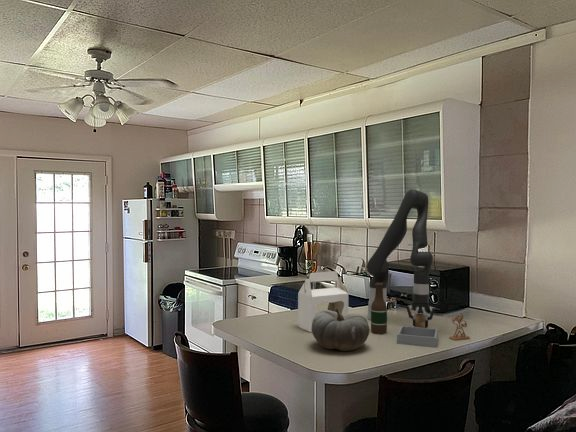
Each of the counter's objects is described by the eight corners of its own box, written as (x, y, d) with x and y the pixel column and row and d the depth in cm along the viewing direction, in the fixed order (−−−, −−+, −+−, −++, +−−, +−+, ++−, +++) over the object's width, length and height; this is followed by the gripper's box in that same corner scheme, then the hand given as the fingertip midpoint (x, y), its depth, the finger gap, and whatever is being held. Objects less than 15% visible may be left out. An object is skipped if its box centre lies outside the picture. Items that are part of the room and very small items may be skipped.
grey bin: (397, 343, 220) (397, 334, 220) (401, 334, 236) (401, 325, 236) (435, 347, 215) (436, 338, 215) (437, 337, 231) (437, 329, 231)
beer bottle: (387, 331, 242) (388, 282, 241) (385, 335, 234) (386, 284, 234) (372, 329, 244) (372, 281, 244) (369, 333, 237) (369, 283, 236)
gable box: (334, 322, 260) (334, 269, 259) (348, 327, 248) (349, 272, 247) (297, 326, 249) (297, 271, 248) (310, 332, 237) (311, 275, 237)
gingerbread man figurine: (464, 336, 232) (464, 311, 232) (469, 338, 229) (470, 313, 229) (448, 338, 229) (449, 312, 229) (454, 340, 226) (455, 314, 225)
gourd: (306, 332, 227) (313, 296, 225) (358, 341, 229) (366, 305, 227) (311, 354, 202) (319, 314, 200) (370, 363, 204) (378, 324, 202)
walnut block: (415, 329, 239) (415, 315, 239) (416, 327, 243) (416, 313, 243) (424, 330, 238) (425, 316, 238) (425, 328, 242) (425, 314, 242)
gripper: (405, 292, 239) (404, 327, 239) (435, 294, 234) (435, 330, 235) (406, 290, 246) (406, 324, 246) (436, 292, 241) (436, 327, 242)
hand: (420, 327), depth 241 cm, fingers closed on walnut block, 4 cm apart
